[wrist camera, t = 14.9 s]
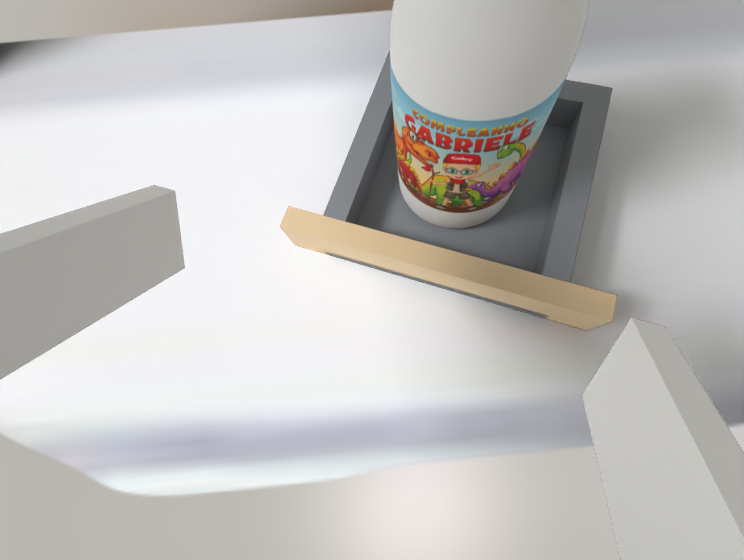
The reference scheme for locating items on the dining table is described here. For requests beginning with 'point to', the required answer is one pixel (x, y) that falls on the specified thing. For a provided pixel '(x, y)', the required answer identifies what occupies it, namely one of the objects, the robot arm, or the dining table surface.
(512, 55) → the milk bottle
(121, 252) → the robot arm
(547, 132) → the tray
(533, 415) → the dining table surface
